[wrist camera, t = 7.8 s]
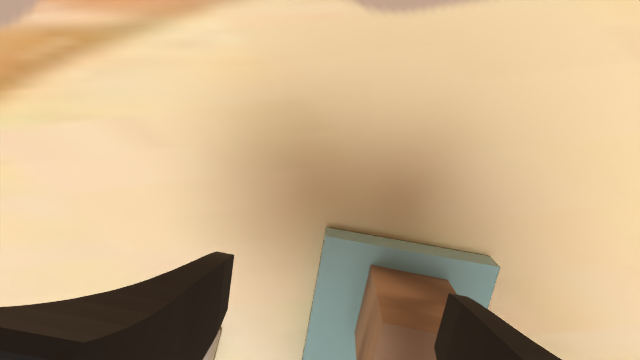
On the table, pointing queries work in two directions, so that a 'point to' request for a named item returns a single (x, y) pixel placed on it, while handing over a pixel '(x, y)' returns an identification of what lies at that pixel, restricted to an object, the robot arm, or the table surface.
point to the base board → (351, 276)
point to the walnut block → (400, 315)
